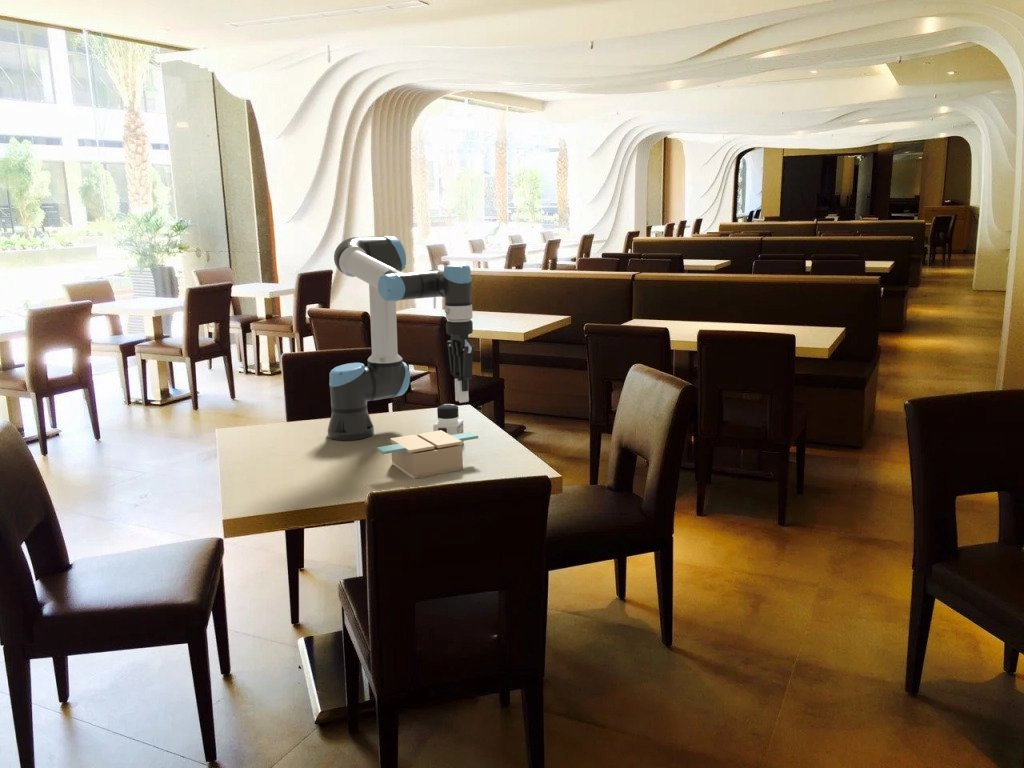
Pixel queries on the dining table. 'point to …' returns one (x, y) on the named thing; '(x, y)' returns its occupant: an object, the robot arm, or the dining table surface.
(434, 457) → the carton
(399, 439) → the near flap
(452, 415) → the container
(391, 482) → the dining table surface
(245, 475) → the dining table surface
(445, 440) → the far flap
